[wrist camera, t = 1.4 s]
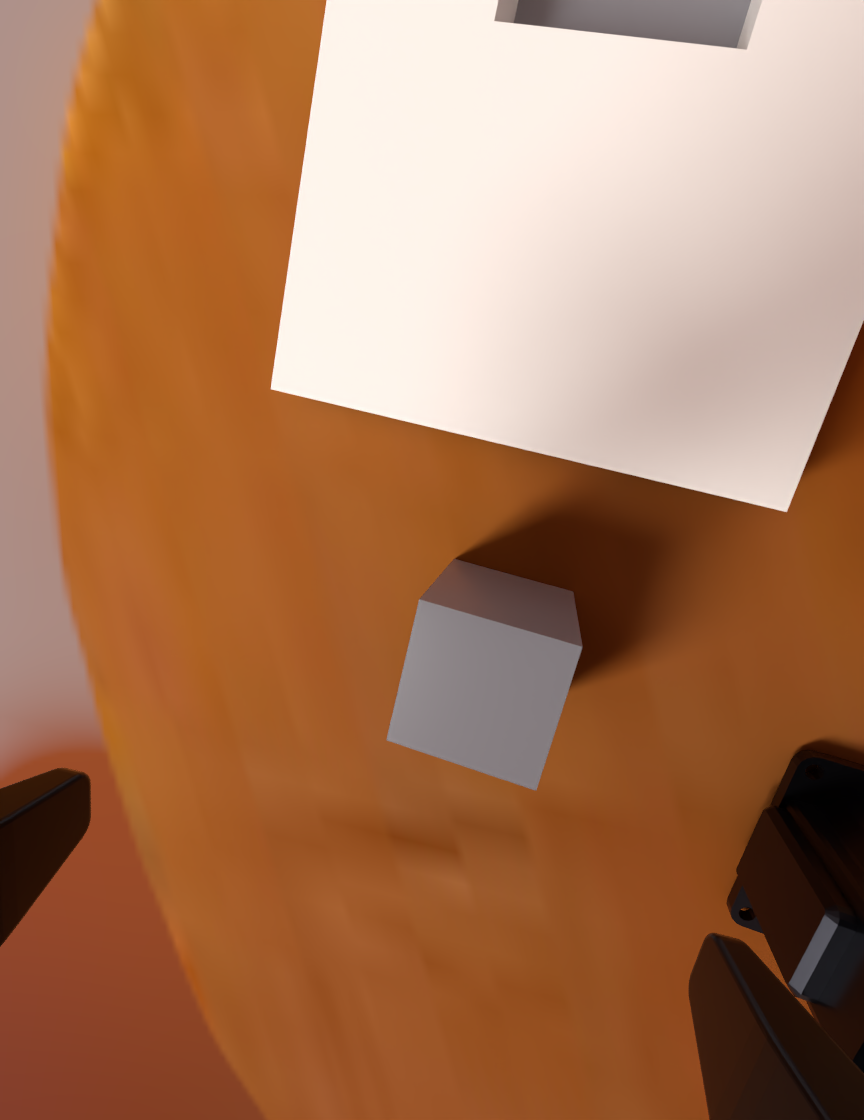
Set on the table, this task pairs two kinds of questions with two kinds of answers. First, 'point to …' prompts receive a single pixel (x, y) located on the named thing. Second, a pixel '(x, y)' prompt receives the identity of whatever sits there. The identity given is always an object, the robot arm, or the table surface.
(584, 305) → the socket plate
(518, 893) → the table surface
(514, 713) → the block
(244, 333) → the table surface
